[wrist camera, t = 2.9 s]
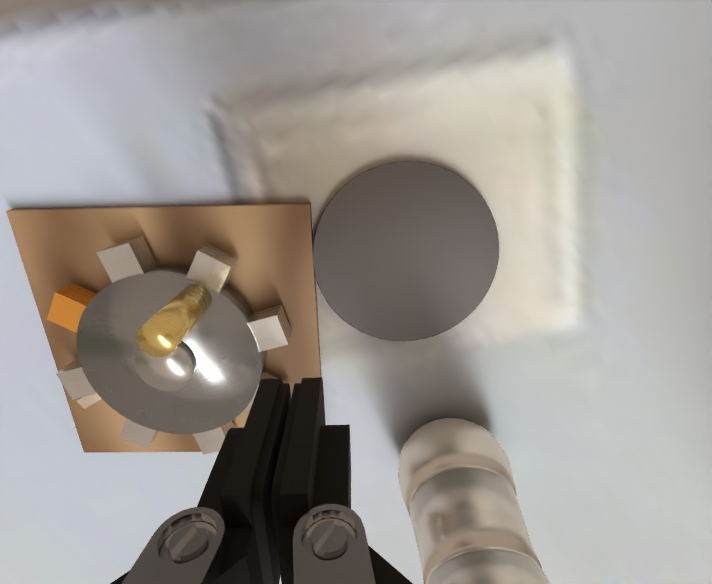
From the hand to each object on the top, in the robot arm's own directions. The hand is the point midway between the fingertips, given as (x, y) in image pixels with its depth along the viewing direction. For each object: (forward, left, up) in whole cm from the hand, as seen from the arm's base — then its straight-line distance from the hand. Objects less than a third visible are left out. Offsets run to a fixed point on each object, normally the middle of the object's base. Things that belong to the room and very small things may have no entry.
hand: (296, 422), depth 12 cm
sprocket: (+9, +4, -13) cm, 16 cm away
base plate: (+9, +4, -13) cm, 16 cm away
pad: (-4, -1, -13) cm, 14 cm away
